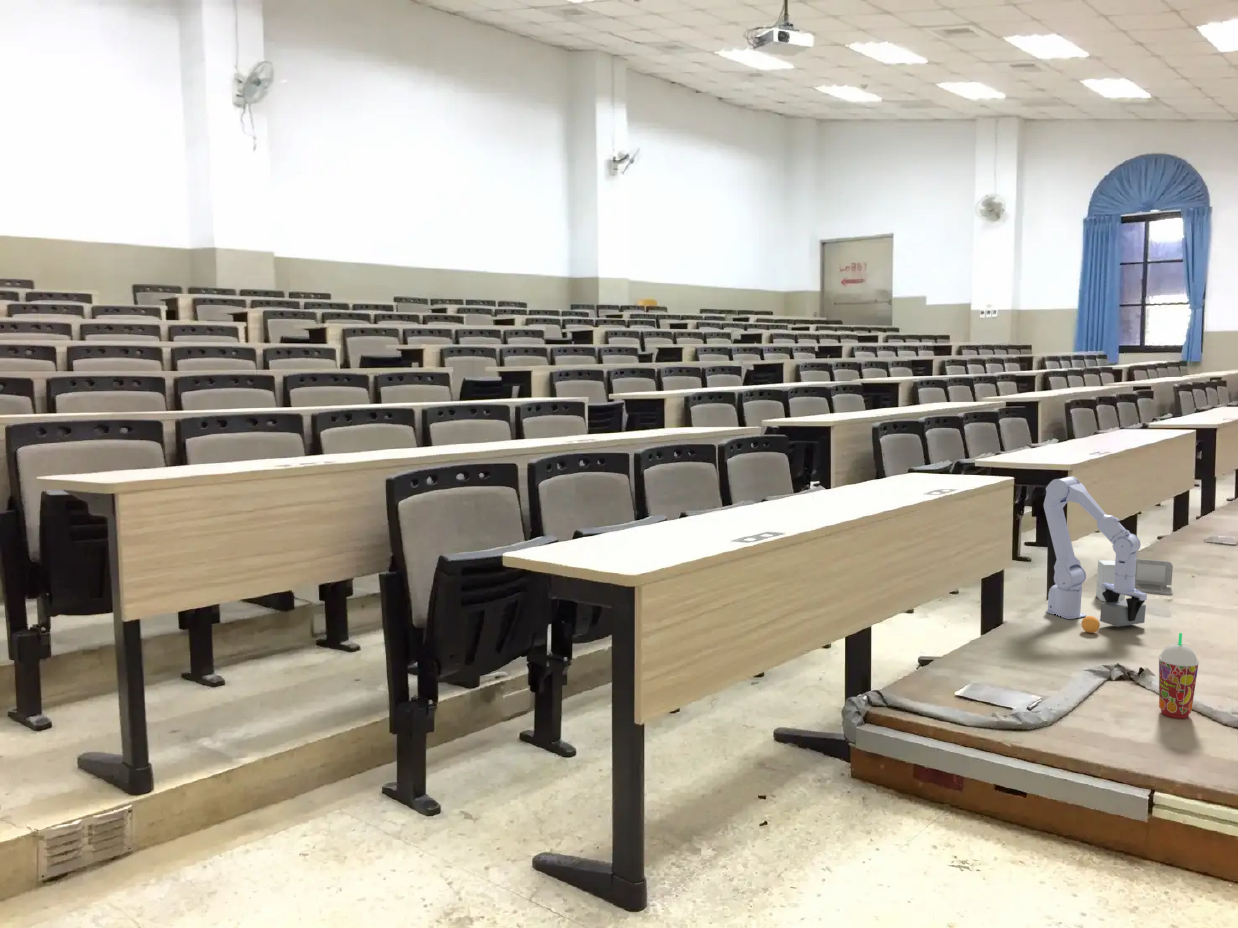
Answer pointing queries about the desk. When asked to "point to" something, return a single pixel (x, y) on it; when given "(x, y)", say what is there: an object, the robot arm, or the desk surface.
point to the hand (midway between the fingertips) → (1122, 617)
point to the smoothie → (1177, 680)
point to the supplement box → (1105, 577)
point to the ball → (1090, 624)
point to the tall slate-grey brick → (1120, 614)
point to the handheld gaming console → (1153, 576)
